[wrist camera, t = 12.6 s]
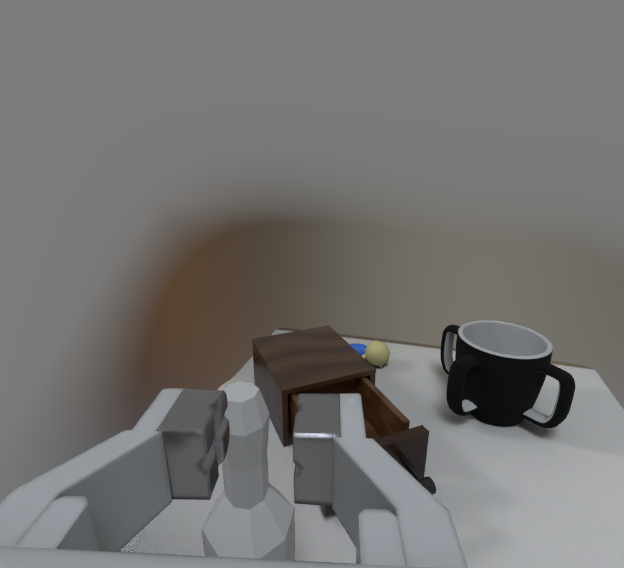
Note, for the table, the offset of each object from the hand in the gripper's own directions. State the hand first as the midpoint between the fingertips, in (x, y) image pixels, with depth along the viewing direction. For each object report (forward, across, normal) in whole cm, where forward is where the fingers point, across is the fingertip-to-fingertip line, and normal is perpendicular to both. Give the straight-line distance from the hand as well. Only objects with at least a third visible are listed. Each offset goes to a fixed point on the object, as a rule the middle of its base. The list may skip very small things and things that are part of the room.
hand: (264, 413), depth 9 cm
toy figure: (+55, -7, +30) cm, 63 cm away
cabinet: (+43, +1, +30) cm, 52 cm away
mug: (+42, -26, +30) cm, 58 cm away
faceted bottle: (+13, +4, +30) cm, 33 cm away
